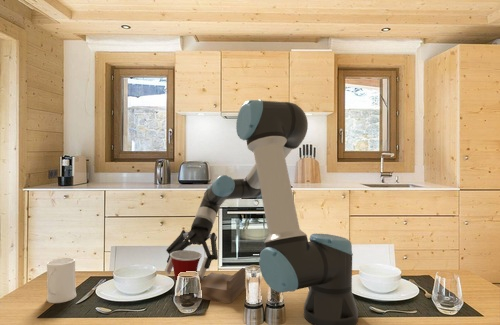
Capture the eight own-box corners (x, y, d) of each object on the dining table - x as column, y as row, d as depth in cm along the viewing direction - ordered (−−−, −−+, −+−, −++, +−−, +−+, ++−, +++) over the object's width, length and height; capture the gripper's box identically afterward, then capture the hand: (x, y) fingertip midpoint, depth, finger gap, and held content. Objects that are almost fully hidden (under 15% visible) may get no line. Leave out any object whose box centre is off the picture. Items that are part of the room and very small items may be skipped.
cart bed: (245, 288, 125) (245, 268, 125) (230, 303, 113) (230, 280, 113) (211, 283, 129) (211, 264, 129) (193, 297, 117) (193, 276, 117)
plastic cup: (199, 294, 120) (199, 258, 120) (166, 293, 120) (166, 258, 120) (204, 282, 131) (203, 249, 131) (174, 282, 131) (173, 249, 131)
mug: (58, 308, 109) (58, 269, 109) (32, 307, 110) (32, 268, 110) (81, 293, 121) (81, 257, 121) (58, 292, 122) (57, 256, 122)
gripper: (236, 229, 136) (219, 283, 122) (179, 225, 144) (157, 275, 131) (230, 218, 130) (212, 273, 117) (172, 214, 139) (148, 265, 126)
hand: (183, 274), depth 124 cm, fingers open, 12 cm apart
